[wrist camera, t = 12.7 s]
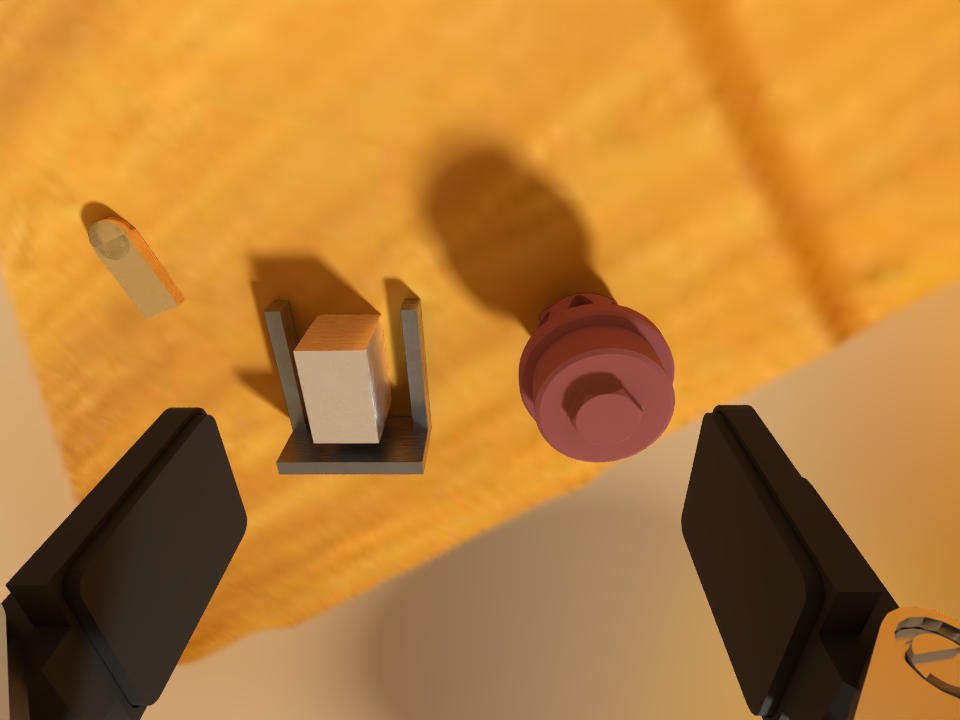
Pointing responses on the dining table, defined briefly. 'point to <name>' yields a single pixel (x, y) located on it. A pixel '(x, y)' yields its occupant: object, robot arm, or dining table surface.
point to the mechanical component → (597, 379)
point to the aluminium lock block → (345, 378)
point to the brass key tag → (134, 266)
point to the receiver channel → (400, 435)
